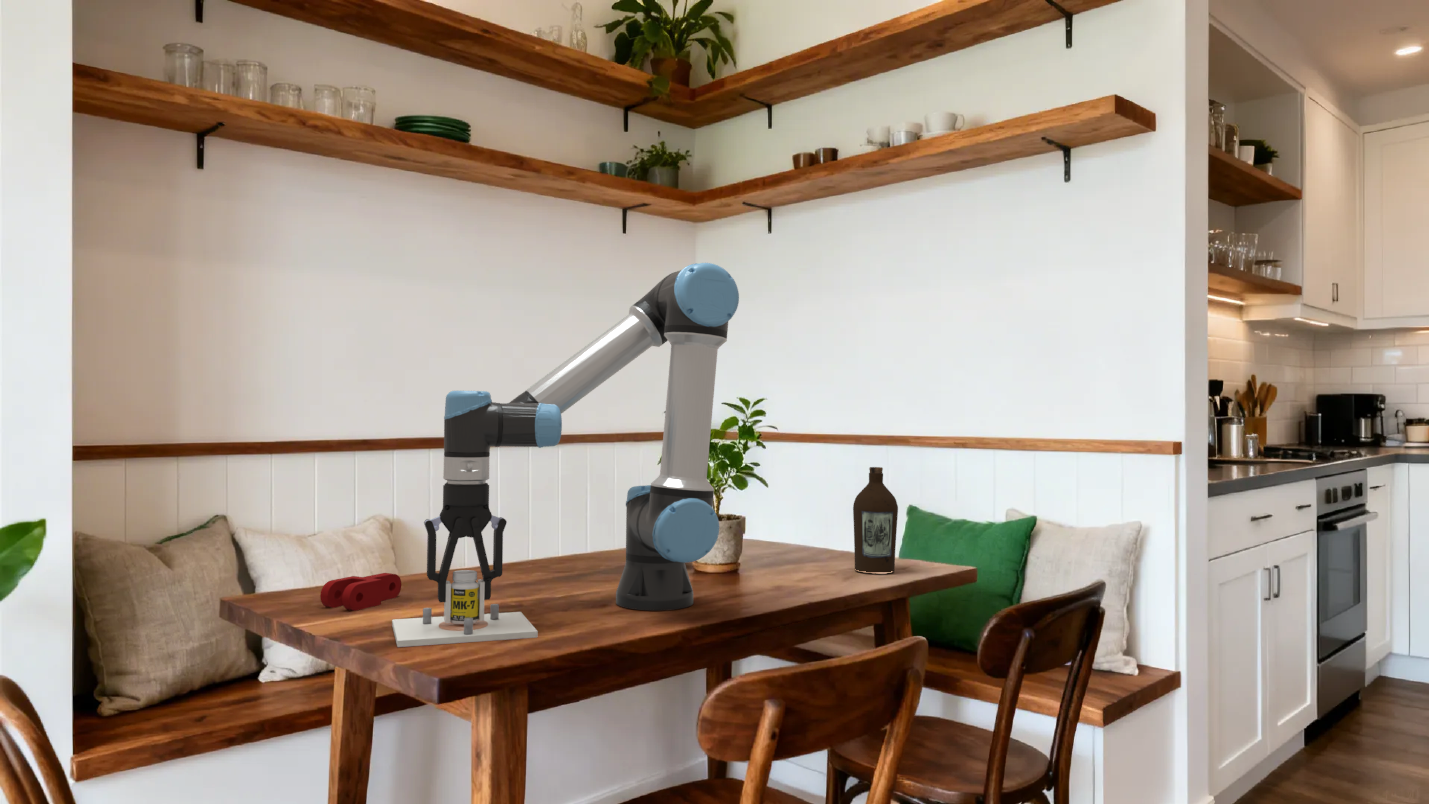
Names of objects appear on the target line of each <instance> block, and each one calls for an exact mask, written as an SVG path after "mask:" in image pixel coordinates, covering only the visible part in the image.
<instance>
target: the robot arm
mask: <svg viewBox="0 0 1429 804" xmlns="http://www.w3.org/2000/svg"><path fill="white" fill-rule="evenodd" d="M739 302H740V293H739V288H738V286H737V283H736V281H735V279H734V277H732V275H731V274H730V273H729V272H728V271H727V270H726V269H724V268H723V267H721V266H720V265H718V264H715V263H711V262H700V263H692V264H689V265H687V266H685V267H684V268H682V269H680V270H677V271H675V272H674V271H673V272H671V273H669V274H668V275H666V276H665V277H663V279H661V280H660V281H659V282H658V283H657V284H656V285H655V286H653V287H652V289H650V290H649V291H648V292H647V293H646V294H645V295H644V296H642V297H641V298H640V299H639V300H638V301H636V302H635V303H634V304H632V305H631V306H629V310H628V314H627V315H625V317H623V318H622V319H621V320H619V321H618V322H617V323H615V324H614V325H612V326H611V327H610V328H609V329H607V330H605V331H604V332H603V333H601V334H600V335H599V336H598V337H596V338H595V339H593V340H592V341H591V342H589V343H588V344H587V345H585V346H584V347H583V348H581V349H580V350H579V351H577V352H575V353H574V354H573V355H572V356H570V357H569V358H568V359H566V360H565V361H563V362H562V363H560V364H559V365H558V366H557V367H555V368H554V369H553V370H552V371H550V372H549V373H547V374H546V375H544V376H543V377H541V379H539V380H538V381H536V382H535V383H534V384H532V385H531V386H530V387H528V388H527V389H525V391H523V392H522V393H520V394H518V395H517V396H516V397H515V398H513V399H512V400H510V402H507V403H504V402H503V403H500V402H493V401H492V396H491V392H489V391H487V390H483V391H482V390H452V391H450V392H448V393H447V394H446V396H445V403H444V404H445V406H444V416H443V429H444V430H443V450H444V451H443V473H442V474H443V475H442V478H443V479H444V481H446V482H445V483H444V485H442V487H443V488H442V509H441V511H440V512H439V513H440V514H439V516H437V517H434V518H431V519H429V518H426V519H425V520H424V522H423V524H424V525H423V526H424V527H425V530H426V532H427V543H426V544H427V546H426V547H427V548H426V551H427V552H426V576H427V578H428V580H429V581H434V582H436V583H437V599H438V602H439V603H443V605H444V606H443V609H444V610H443V616H444V621H445V623H450V612H451V584H452V583H451V582H450V580H448V576H449V573H450V569H451V565H452V562H453V558H454V555H455V550H456V547H457V544H458V541H459V539H462V538H465V537H466V538H472V539H473V543H474V546H475V551H476V555H477V559H478V563H479V568H480V571H481V573H480V574H481V576H482V579H477V583H478V584H479V613H478V620H479V621H484V614H485V601H487V600H489V601H490V600H491V595H492V581H493V580H494V579H495V578H500V577H501V576H502V575H503V559H504V558H503V556H504V555H503V553H504V552H503V551H504V547H503V545H504V542H503V541H504V531H505V528H506V525H507V523H508V522H507V519H505V518H504V517H498V516H495V515H492V511H491V510H490V484H489V483H488V482H486V481H488V480H489V479H490V451H491V450H490V449H491V447H495V448H496V447H497V448H499V447H508V448H509V447H511V448H512V447H513V448H517V447H518V448H520V447H521V448H531V447H532V448H539V449H541V448H546V447H555V446H557V445H558V444H559V443H560V441H561V439H562V438H561V437H562V432H563V431H562V430H563V423H562V421H563V420H562V419H563V418H562V414H563V413H564V412H566V411H567V410H568V409H570V408H571V407H572V406H574V405H575V404H576V403H578V402H580V401H581V400H582V399H583V398H585V397H586V396H587V395H588V394H589V393H591V392H593V391H594V390H595V389H596V388H598V387H599V386H600V385H602V384H603V383H604V382H606V381H607V380H609V379H610V378H611V377H612V376H614V375H616V374H617V373H618V372H620V370H622V369H624V367H626V366H627V365H628V364H630V363H631V362H632V361H634V360H635V359H636V358H638V357H639V356H640V355H642V354H644V353H645V352H646V351H648V350H649V349H651V347H656V348H660V347H661V346H663V345H664V344H665V343H667V342H669V343H670V346H671V347H670V356H669V368H668V378H667V390H666V400H665V401H666V402H665V413H664V424H663V436H662V437H663V438H662V446H661V447H662V448H661V458H660V460H661V461H660V472H659V475H658V476H657V477H656V478H655V479H654V480H653V481H652V482H650V484H649V485H647V484H646V485H635V486H631V487H629V489H628V490H627V494H626V500H625V507H626V509H625V511H626V514H625V515H626V520H625V523H626V525H625V526H626V528H625V564H624V568H623V570H622V574H621V576H620V579H619V582H618V585H617V588H616V592H615V604H616V605H617V606H620V607H622V608H626V609H631V610H639V611H671V610H672V611H673V610H678V609H679V610H680V609H685V608H689V607H692V606H693V604H694V589H693V587H692V583H691V579H690V576H689V573H688V569H687V566H686V564H687V563H691V562H692V563H693V562H696V561H698V560H701V559H702V558H703V557H705V556H707V554H709V553H710V551H712V550H713V548H714V546H715V544H716V543H717V541H718V538H719V535H720V520H719V517H718V515H717V513H716V512H715V509H714V508H713V507H714V506H713V505H714V493H715V489H714V487H713V486H712V485H711V483H710V482H709V480H708V477H707V476H708V467H709V466H708V465H709V456H710V455H709V454H710V443H711V442H710V441H711V432H712V431H711V430H712V419H713V406H714V396H715V384H716V371H717V361H718V352H719V351H718V350H719V349H720V347H721V346H723V344H725V343H726V342H727V341H728V340H727V339H728V331H729V329H728V328H729V321H730V320H731V319H732V318H733V317H734V315H735V313H736V312H737V310H738V307H739ZM490 522H491V528H492V529H493V539H492V540H493V542H492V543H493V550H492V551H493V552H492V553H493V554H492V555H493V556H492V569H491V570H490V565H489V561H488V556H487V552H486V548H485V543H484V537H483V535H482V534H483V533H482V532H483V531H484V530H485V528H486V527H487V525H488V524H489V523H490ZM441 523H442V524H443V525H444V527H445V529H446V530H447V531H448V536H447V537H448V538H447V542H446V546H445V549H444V553H443V555H442V556H443V557H442V561H441V563H440V567H439V568H440V569H439V572H437V571H436V570H437V569H436V568H437V565H436V564H437V531H439V529H440V524H441Z"/></svg>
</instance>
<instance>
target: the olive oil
mask: <svg viewBox="0 0 1429 804" xmlns="http://www.w3.org/2000/svg"><path fill="white" fill-rule="evenodd" d="M868 470H869V472H868V483H867V484H866V486H865V487H863V489H862V490H861V491H860V492H859V493H858V494H857V495H856V497H855V499H854V501H853V504H852V505H853V507H852V511H853V512H852V517H853V540H854V541H853V542H854V543H853V546H854V570H855V569H856V570H859V571H866V572H891V571H894V572H895V567H896V565H895V563H896V544H897V529H898V527H897V526H898V516H899V515H898V513H899V505H898V502H897V499H896V497H895V496H894V495H893V493H892V492H891V491H890V490H889V489H888V487H886V485H885V484H884V473H883V470H884V468H883V467H881V466H870V467H869V468H868Z"/></svg>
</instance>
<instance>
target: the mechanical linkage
mask: <svg viewBox="0 0 1429 804" xmlns="http://www.w3.org/2000/svg"><path fill="white" fill-rule="evenodd" d="M401 589H402V579H401V577H400V575H399V574H396V573H388V572H381V573H377V574H372V575H367V576H355V575H352V576H346V577H342V578H336V579H331V580H328V581H326V582H325V584H324V585H323V586H322V588H321V591H320V597H319V598H320V601H321V603H322V605H323V606H324V607H326V608H333V609H335V608H339V607H342V606H343V607H344V608H345V609H346V610H348V611H354V612H355V611H361V610H365V609H369V608H372V607H377V606H381V605H382V602H383V601H387V600H390V599H395V598H397V597H399V594H400V592H401Z"/></svg>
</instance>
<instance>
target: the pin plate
mask: <svg viewBox="0 0 1429 804" xmlns="http://www.w3.org/2000/svg"><path fill="white" fill-rule="evenodd" d="M499 607H500V604H499V603H491V604H490V610H489V611H490V613H484V621H479V620H478V621H477V622H475V623H473V618H470V617H469V618H464V624H453V623H451V622H450V623H445V621H444V615H443V616H442V615H441V616H432V613H433V612H432V609H433V608H432V607H423V608H422V617H412V618H410V617H409V618H396V619H392V620H391V627H392V631H393V634H394V635H393V636H394V639H395V643H396V644H395V645H396V647H397V648H404V647H405V648H407V647H420V646H432V645H433V646H435V645H445V644H446V645H447V644H450V645H451V644H459V643H460V644H463V643H477V642H478V643H479V642H490V641H492V642H493V641H505V640H506V641H508V640H519V639H520V640H521V639H535V638H538V636H539V635H538V634H539V633H538V632H539V631H538V630H537V628H535V626H534V625H533V624H532V623H531V622H530V620H529V619H527V617H526V616H525V615H524V614H523V613H522V611H513V612H500V611H499V610H500V608H499Z"/></svg>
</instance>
